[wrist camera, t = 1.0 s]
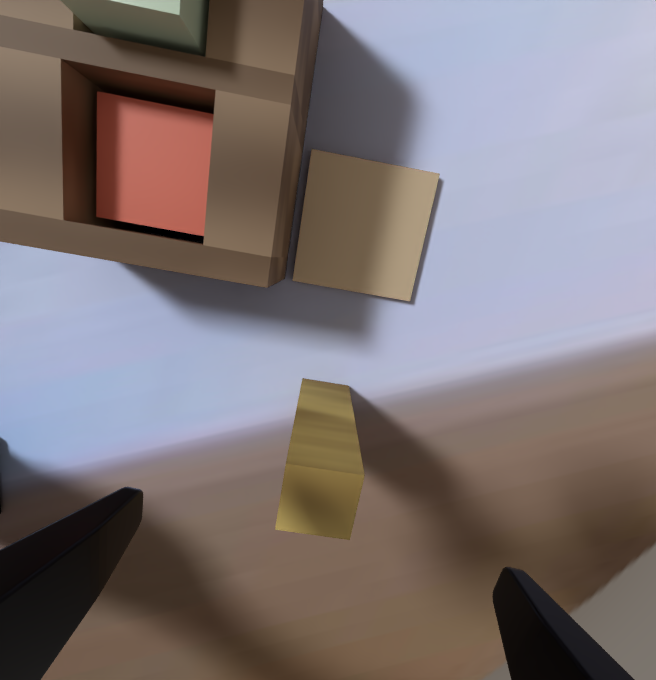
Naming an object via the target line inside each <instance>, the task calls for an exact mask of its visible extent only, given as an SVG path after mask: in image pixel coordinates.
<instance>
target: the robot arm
mask: <svg viewBox="0 0 656 680" xmlns="http://www.w3.org/2000/svg"><path fill="white" fill-rule="evenodd" d="M142 510H143V491H142V490H140V489H136V488H131V487H124V488H121V489H119V490H117V491H115V492H113V493H111V494H109V495H108V496H106V497H104V498H102V499H100V500H98V501H96V502H94V503H92V504H90V505H88V506H86V507H84V508H82V509H80V510H78V511H76V512H74V513H72V514H70V515H68V516H66V517H64V518H62V519H60V520H58V521H56V522H54V523H52V524H50V525H48V526H46V527H44V528H42V529H40V530H38V531H36V532H34V533H32V534H30V535H28V536H26V537H24V538H22V539H20V540H19V541H17V542H15V543H13V544H11V545H9V546H7V547H5V548H3V549H1V550H0V680H41V678H42V677H43V675H44V674H45V673H46V671H47V670H48V668H49V667H50V665H51V664H52V663H53V661H54V660H55V658H56V657H57V655H58V654H59V652H60V651H61V650H62V648H63V647H64V645H65V644H66V642H67V641H68V640H69V638H70V637H71V635H72V634H73V632H74V631H75V629H76V628H77V627H78V625H79V624H80V622H81V621H82V619H83V618H84V617H85V615H86V614H87V612H88V611H89V609H90V608H91V606H92V605H93V603H94V602H95V600H96V599H97V597H98V596H99V594H100V593H101V591H102V589H103V588H104V586H105V584H106V583H107V581H108V579H109V577H110V576H111V574H112V572H113V571H114V569H115V567H116V565H117V564H118V562H119V560H120V558H121V557H122V555H123V553H124V551H125V550H126V548H127V546H128V544H129V543H130V541H131V539H132V537H133V536H134V534H135V532H136V531H137V529H138V527H139V525H140V522H141V519H142ZM0 514H1V506H0ZM493 604H494V608H495V613H496V617H497V621H498V625H499V630H500V634H501V638H502V643H503V647H504V651H505V655H506V660H507V664H508V668H509V672H510V676H511V680H634V679H633V678H632V677H631V676H630V675H629V674H628V673H627V672H626V671H625V670H624V669H623V668H622V667H621V666H620V665H619V664H618V663H617V662H616V661H615V660H614V659H613V658H612V657H611V656H610V655H609V654H608V653H607V652H606V651H605V650H604V649H603V648H602V647H601V646H600V645H599V644H598V643H597V642H596V641H595V640H594V639H592V637H591V636H590V635H589V634H587V632H585V631H584V629H583V628H581V627H580V626H579V625H578V624H577V623H576V622H575V621H574V620H573V619H572V618H571V617H570V616H569V615H568V614H567V613H566V612H565V611H564V610H563V609H562V608H561V607H560V606H559V605H558V604H557V603H556V602H555V601H554V600H553V599H552V598H551V597H550V596H549V595H548V594H547V593H546V592H545V591H544V590H543V589H542V588H541V587H540V586H539V585H538V584H537V583H536V582H535V581H534V580H533V579H532V578H531V577H530V576H529V575H528V574H527V573H525V572H524V571H523V570H520V569H516V568H511V567H505V568H504V569H503V570H502V572H501V574H500V576H499V579H498V581H497V583H496V585H495V588H494V590H493Z"/></svg>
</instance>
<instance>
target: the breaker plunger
mask: <svg viewBox="0 0 656 680" xmlns="http://www.w3.org/2000/svg"><path fill="white" fill-rule="evenodd" d="M213 117H214V114H211V113H205V112H200V111H195V110H190V109H185V108H180V107H175V106H170V105H165V104H160V103H155V102H150V101H145V100H140V99H134V98H129V97H124V96H119V95H114V94H109V93H104V92H99V91H97V192H96V217H100V218H106V219H111V220H117V221H123V222H128V223H134V224H139V225H145V226H150V227H156V228H162V229H167V230H173V231H178V232H184V233H189V234H195V235H201V236H204V229H205V217H206V204H207V192H208V180H209V167H210V155H211V142H212V130H213Z"/></svg>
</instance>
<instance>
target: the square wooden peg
mask: <svg viewBox="0 0 656 680" xmlns="http://www.w3.org/2000/svg"><path fill="white" fill-rule="evenodd" d="M364 476H365V475H364V469H363V464H362V458H361V452H360V447H359V441H358V435H357V429H356V424H355V418H354V412H353V407H352V401H351V395H350V390H349V386H347V385H341V384H334V383H328V382H322V381H316V380H310V379H304V378H303V379H302V384H301V389H300V394H299V399H298V404H297V410H296V415H295V420H294V425H293V430H292V435H291V440H290V445H289V450H288V456H287V461H286V466H285V472H284V478H283V485H282V491H281V497H280V503H279V509H278V515H277V521H276V527H275V530H282V531H290V532H297V533H304V534H311V535H318V536H325V537H332V538H340V539H347V540H350V537H351V532H352V528H353V524H354V519H355V515H356V510H357V506H358V502H359V497H360V493H361V489H362V484H363V480H364Z"/></svg>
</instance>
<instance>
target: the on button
mask: <svg viewBox="0 0 656 680" xmlns="http://www.w3.org/2000/svg"><path fill="white" fill-rule="evenodd" d="M60 1H61V2H62V3H63V4H65V5H66V6H67V7H68V8H69V9H70V10H71V11H72V12H73V13H74V14H75V15H76V16H77V17H78V18H79V19H80V20H81V21H82V22H83V23H84V24H85V25H86V26H87V27H88V28H89V29H90V30H91V31H92V32H93V33H94V34H96V35H101V36H106V37H111V38H116V39H121V40H126V41H130V42H135V43H140V44H145V45H150V46H155V47H160V48H165V49H169V50H174V51H179V52H184V53H189V54H194V55H199V56H204V57H206V43H207V29H208V15H209V1H210V0H60Z"/></svg>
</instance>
